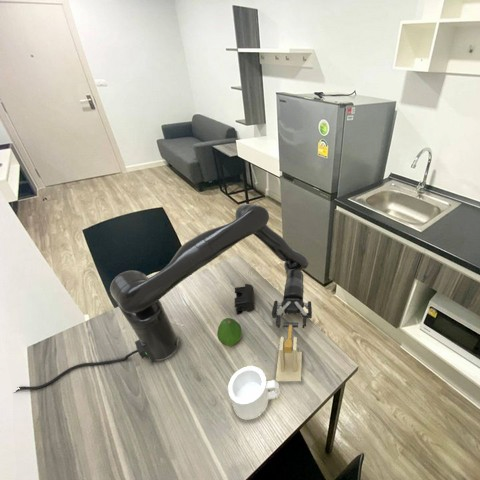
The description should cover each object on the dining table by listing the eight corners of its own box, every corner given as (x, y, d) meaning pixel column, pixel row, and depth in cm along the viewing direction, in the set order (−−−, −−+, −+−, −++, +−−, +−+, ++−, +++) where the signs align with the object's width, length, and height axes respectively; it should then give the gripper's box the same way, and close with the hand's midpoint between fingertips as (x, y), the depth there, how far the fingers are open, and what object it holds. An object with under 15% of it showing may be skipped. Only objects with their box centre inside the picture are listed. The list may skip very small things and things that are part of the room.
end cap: (255, 312, 105) (253, 300, 101) (236, 315, 103) (234, 303, 99) (254, 293, 113) (252, 282, 109) (236, 296, 111) (234, 285, 107)
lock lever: (283, 326, 91) (283, 320, 90) (298, 326, 91) (298, 320, 90) (279, 353, 79) (279, 346, 79) (296, 353, 80) (296, 347, 79)
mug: (278, 378, 84) (276, 360, 78) (281, 413, 76) (280, 396, 70) (234, 387, 81) (228, 369, 75) (233, 425, 73) (226, 408, 67)
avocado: (226, 355, 90) (220, 334, 83) (216, 339, 94) (209, 318, 87) (247, 342, 94) (243, 321, 87) (237, 327, 99) (232, 306, 92)
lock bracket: (278, 353, 91) (276, 328, 83) (302, 353, 92) (302, 329, 84) (275, 382, 83) (272, 359, 75) (300, 382, 84) (300, 359, 75)
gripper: (275, 284, 101) (269, 319, 88) (312, 285, 102) (312, 320, 89) (276, 297, 106) (270, 333, 92) (311, 298, 106) (311, 333, 93)
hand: (291, 326), depth 91 cm, fingers open, 8 cm apart
